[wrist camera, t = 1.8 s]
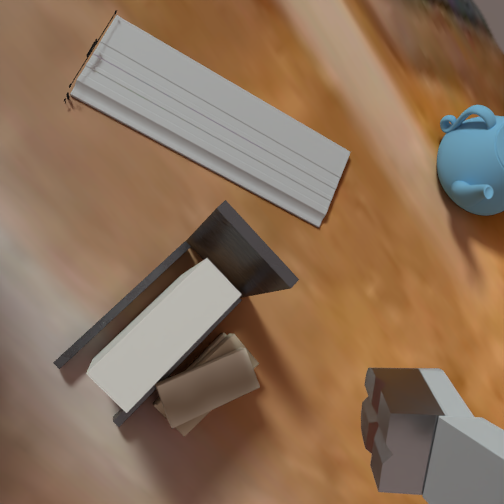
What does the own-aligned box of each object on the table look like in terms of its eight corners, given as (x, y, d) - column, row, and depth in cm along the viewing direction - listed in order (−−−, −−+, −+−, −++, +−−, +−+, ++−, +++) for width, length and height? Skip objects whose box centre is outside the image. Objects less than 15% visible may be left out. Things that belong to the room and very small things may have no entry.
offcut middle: (154, 402, 45) (156, 405, 43) (229, 333, 48) (234, 333, 46) (180, 432, 45) (184, 436, 43) (253, 361, 48) (259, 363, 46)
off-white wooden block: (92, 358, 45) (85, 373, 32) (180, 275, 49) (206, 257, 36) (121, 386, 45) (126, 413, 32) (206, 302, 49) (241, 294, 36)
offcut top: (154, 383, 43) (156, 386, 41) (240, 347, 46) (245, 348, 44) (169, 424, 43) (172, 428, 41) (253, 384, 46) (260, 387, 44)
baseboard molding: (311, 239, 55) (344, 156, 58) (322, 234, 52) (356, 147, 55) (63, 108, 48) (115, 23, 51) (60, 95, 46) (116, 6, 49)
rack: (55, 361, 44) (30, 379, 30) (192, 234, 50) (225, 200, 36) (118, 422, 45) (122, 468, 31) (245, 291, 51) (298, 279, 36)
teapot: (422, 113, 62) (479, 74, 52) (510, 129, 66) (578, 96, 56) (425, 218, 59) (486, 198, 50) (517, 228, 64) (589, 211, 54)
